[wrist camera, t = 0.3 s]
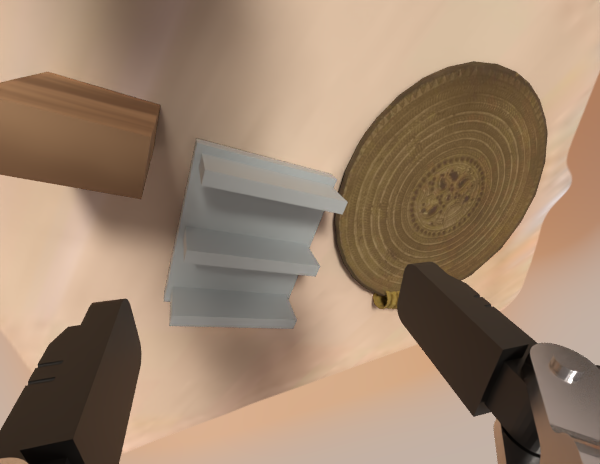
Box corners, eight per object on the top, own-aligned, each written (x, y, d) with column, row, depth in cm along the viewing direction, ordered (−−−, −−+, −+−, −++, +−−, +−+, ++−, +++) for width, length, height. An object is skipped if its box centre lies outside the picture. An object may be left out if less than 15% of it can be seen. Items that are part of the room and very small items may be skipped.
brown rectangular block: (47, 71, 21) (-35, 90, 13) (160, 104, 24) (150, 137, 16) (46, 123, 23) (-29, 169, 15) (153, 149, 26) (141, 199, 18)
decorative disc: (602, 88, 35) (492, 305, 48) (571, 86, 38) (475, 292, 51) (383, 31, 25) (316, 325, 38) (363, 34, 28) (306, 307, 40)
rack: (196, 138, 26) (199, 158, 22) (330, 174, 32) (355, 195, 27) (164, 291, 33) (161, 331, 28) (281, 299, 38) (295, 333, 34)
